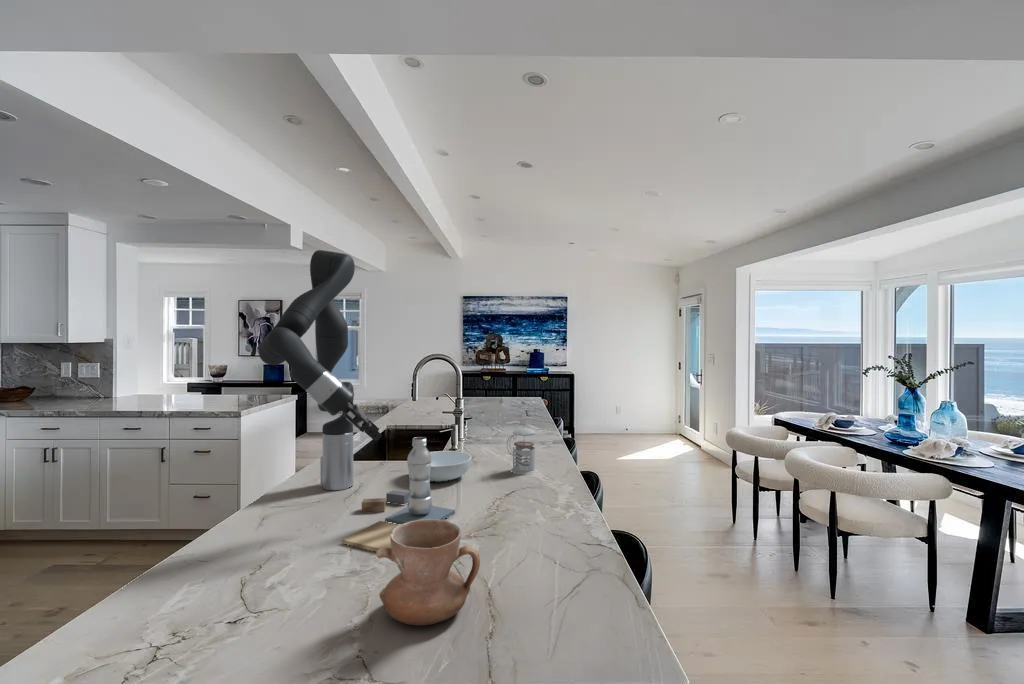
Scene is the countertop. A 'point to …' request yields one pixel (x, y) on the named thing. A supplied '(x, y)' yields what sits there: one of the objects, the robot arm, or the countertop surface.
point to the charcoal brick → (397, 497)
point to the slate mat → (405, 515)
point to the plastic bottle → (419, 478)
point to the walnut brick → (374, 505)
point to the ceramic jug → (426, 572)
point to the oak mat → (372, 536)
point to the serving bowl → (448, 465)
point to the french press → (523, 452)
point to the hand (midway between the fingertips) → (377, 435)
